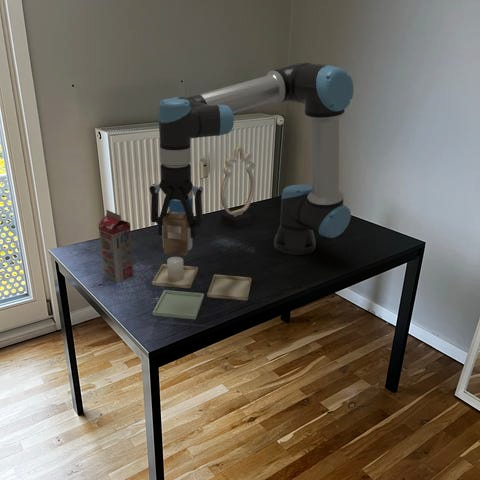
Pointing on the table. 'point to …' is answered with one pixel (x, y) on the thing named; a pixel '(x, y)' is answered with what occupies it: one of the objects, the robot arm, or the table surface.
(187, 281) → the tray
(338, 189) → the robot arm
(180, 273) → the white dome
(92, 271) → the table surface
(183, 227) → the letter block
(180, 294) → the tray
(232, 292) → the tray
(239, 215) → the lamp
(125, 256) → the juice carton
